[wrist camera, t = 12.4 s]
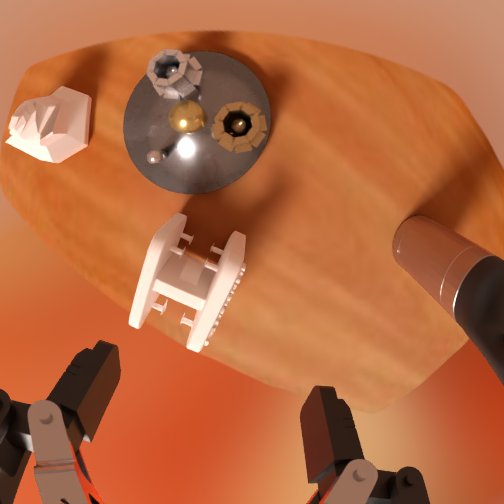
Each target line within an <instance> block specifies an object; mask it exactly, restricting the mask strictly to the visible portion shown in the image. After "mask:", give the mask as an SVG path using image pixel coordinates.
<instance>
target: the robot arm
mask: <svg viewBox="0 0 504 504" xmlns="http://www.w3.org/2000/svg"><path fill="white" fill-rule="evenodd" d="M393 254H394V257H395V260H396V261H397V263H398V264H399V265H400V266H401V267H402V268H404V269H405V270H406V271H407V272H408V273H409V274H410V275H411V276H412V277H413V278H414V279H415V280H416V281H417V282H418V283H419V284H420V285H421V286H422V287H423V288H424V289H425V290H426V291H427V292H428V293H429V294H430V295H431V296H432V297H433V298H434V299H435V300H436V301H437V302H438V303H439V304H440V305H441V306H442V307H443V308H444V309H445V310H446V311H447V312H448V313H449V314H450V315H451V316H452V318H453V319H454V320H455V321H456V322H457V323H458V324H459V325H460V326H461V327H462V328H463V330H464V331H465V333H466V334H467V335H468V337H469V338H470V339H471V340H472V342H474V344H475V345H476V346H477V347H478V349H479V350H480V352H481V353H482V354H483V356H484V357H485V358H486V360H487V361H488V363H489V364H490V366H491V367H492V369H493V370H494V372H495V373H496V375H497V376H498V378H499V380H500V381H501V382H502V384H503V385H504V260H502V259H500V258H499V257H497V256H496V255H494V254H492V253H491V252H489V251H487V250H486V249H484V248H482V247H481V246H479V245H477V244H475V243H474V242H472V241H470V240H469V239H467V238H465V237H463V236H461V235H460V234H458V233H456V232H454V231H452V230H451V229H449V228H447V227H445V226H443V225H441V224H439V223H437V222H436V221H434V220H432V219H430V218H428V217H425V216H422V215H417V216H413V217H410V218H408V219H407V220H406V221H404V222H403V223H402V224H401V225H400V227H399V228H398V230H397V232H396V234H395V237H394V241H393ZM120 374H121V369H120V360H119V351H118V347H117V345H114V344H111V343H108V342H105V341H102V340H100V341H98V342H97V344H96V345H95V347H94V348H93V350H91V349H88V348H86V349H84V350H83V351H81V352H79V353H78V354H77V355H76V356H75V357H74V359H73V360H72V362H71V364H70V365H69V366H68V367H67V369H66V372H64V373H63V375H62V376H61V378H60V379H59V381H58V382H57V384H56V385H55V387H54V389H53V390H52V392H51V393H50V395H49V396H48V397H47V399H46V400H40V401H36V402H34V403H33V404H25V403H21V402H17V401H13V400H11V399H10V397H9V395H8V394H7V393H6V392H5V391H3V390H2V389H0V504H13V502H14V498H15V495H16V492H17V489H18V487H19V483H20V481H21V478H22V476H23V473H24V470H25V467H26V465H27V463H28V460H29V458H30V455H31V453H32V451H33V452H34V454H35V458H36V466H34V475H35V479H36V483H37V486H38V489H39V492H40V496H41V499H42V501H43V504H104V502H103V501H102V499H101V497H100V495H99V493H98V491H97V490H96V488H95V486H94V484H93V482H92V479H91V477H90V474H89V471H88V469H87V466H86V463H85V461H84V458H83V455H82V452H81V449H80V445H81V442H82V440H86V441H88V442H90V443H91V442H92V440H93V437H94V435H95V433H96V430H97V428H98V426H99V424H100V421H101V419H102V417H103V415H104V412H105V410H106V408H107V406H108V404H109V402H110V400H111V397H112V396H113V393H114V391H115V389H116V387H117V385H118V383H119V380H120ZM300 422H301V429H302V437H303V444H304V452H305V460H306V468H307V477H308V483H318V489H317V490H316V492H315V493H314V494H313V496H312V497H311V498H310V500H309V501H308V502H307V503H306V504H430V502H429V498H428V494H427V490H426V487H425V483H424V480H423V476H422V474H421V473H420V471H419V470H417V469H416V468H414V467H404V468H402V469H400V470H399V471H398V472H389V471H382V470H377V469H376V467H375V466H374V465H373V464H372V463H371V462H369V461H367V460H365V458H364V456H363V452H362V448H361V445H360V441H359V438H358V434H357V430H356V428H355V424H354V420H353V417H352V413H351V410H350V408H349V406H348V405H347V404H346V402H345V401H344V400H343V399H338V398H337V395H336V391H335V388H334V387H331V386H314V388H313V389H312V391H311V393H310V395H309V396H308V398H307V400H306V402H305V403H304V405H303V407H302V410H301V413H300Z"/></svg>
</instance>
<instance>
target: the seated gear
mask: <svg viewBox="0 0 504 504" xmlns="http://www.w3.org/2000/svg"><path fill="white" fill-rule="evenodd" d="M261 112H262V111H261V110H260V109H258V108H257V107H255V106H254V105H252V104H251V103H249V102H248V103H247V104H245V103H244V102H243V101H240V102H235V103H229V104H227V105H226V107H225V106H224V107H222V108H221V110H220V111H219V112H218V114H217V115H216V116H215V118H214V119H213V120H215V124H212V126H213V131H214V136H215V140H219V139H220V141H219V142H218V144H219V145H221V146H222V147H224V148H226V149H227V150H229V151H230V152H233V150H234V149H235V151H236V153H240V152H246V151H252V146H251V145H253V146H254V147H256V148H257V146H258V145H259V144H260V142H261V141H262V140H263V138H264V137H265V136H266V135H265V134H264V133H263V132H264V131H267V126H266V121H265V115H260V114H261ZM259 115H260V116H259ZM240 116H244V117H246V118H247V119H249V120H250V121H251V123H252V128H251V129H250V130H249V132H248V133H247V134H246V136H241V137H236V138H234V137H232V136H231V135H229V130H228V124H229V123H230V122H231V120H232V119H233V118H234V117H240Z"/></svg>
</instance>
